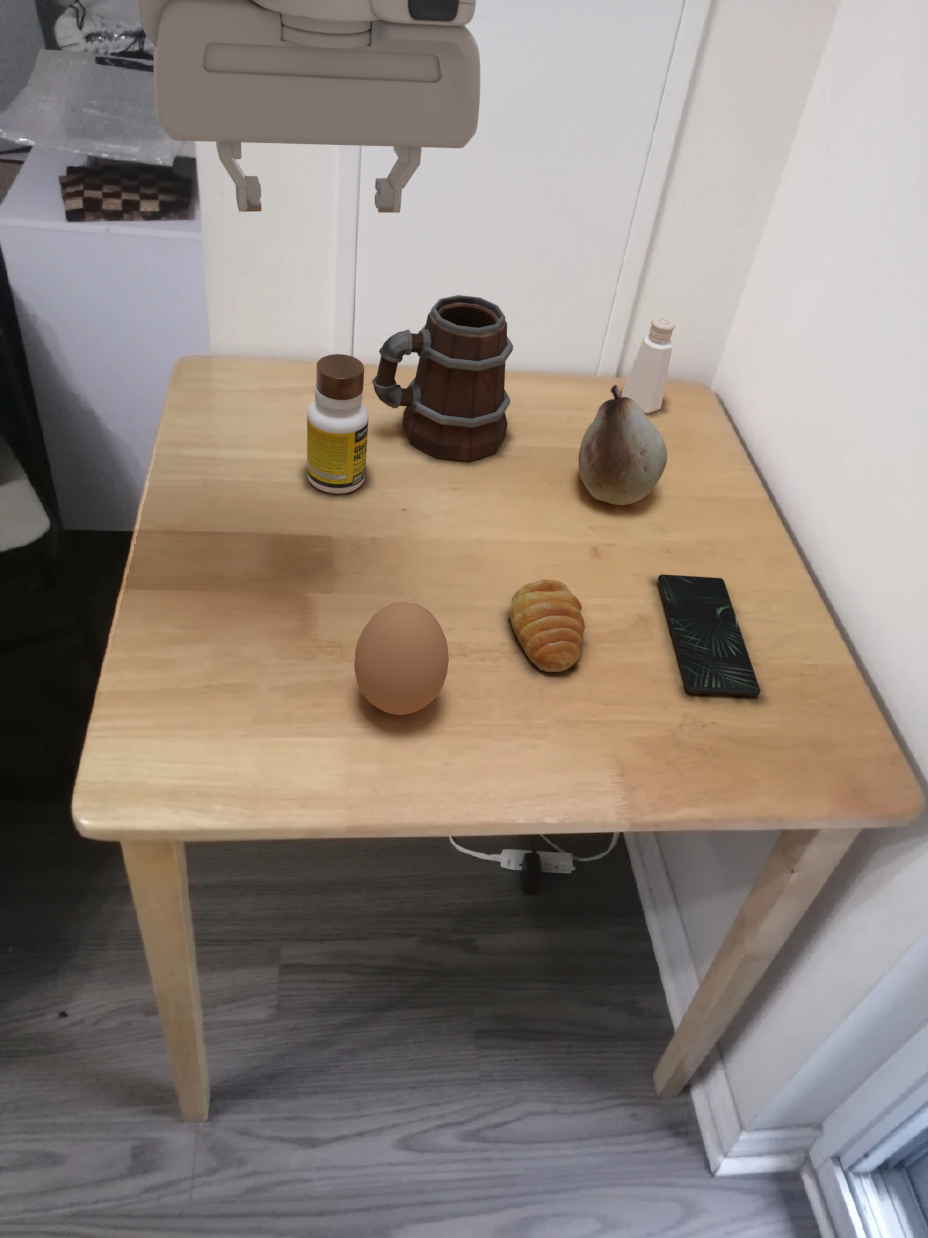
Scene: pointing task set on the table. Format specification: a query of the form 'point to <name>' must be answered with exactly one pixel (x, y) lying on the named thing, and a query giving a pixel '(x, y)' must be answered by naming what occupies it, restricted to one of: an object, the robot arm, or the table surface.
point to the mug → (452, 379)
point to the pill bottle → (336, 443)
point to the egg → (401, 658)
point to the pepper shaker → (651, 367)
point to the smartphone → (707, 636)
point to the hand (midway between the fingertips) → (319, 209)
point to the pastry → (548, 624)
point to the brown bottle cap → (339, 376)
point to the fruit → (621, 453)
